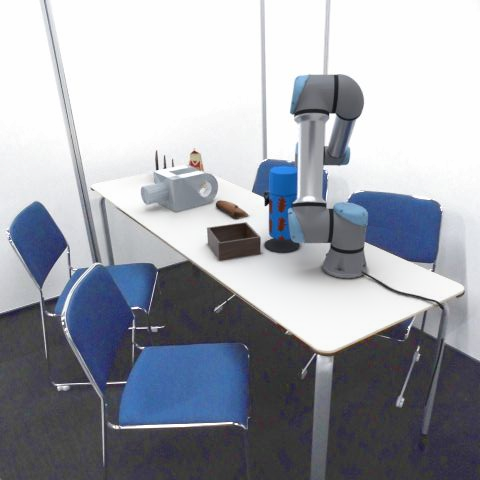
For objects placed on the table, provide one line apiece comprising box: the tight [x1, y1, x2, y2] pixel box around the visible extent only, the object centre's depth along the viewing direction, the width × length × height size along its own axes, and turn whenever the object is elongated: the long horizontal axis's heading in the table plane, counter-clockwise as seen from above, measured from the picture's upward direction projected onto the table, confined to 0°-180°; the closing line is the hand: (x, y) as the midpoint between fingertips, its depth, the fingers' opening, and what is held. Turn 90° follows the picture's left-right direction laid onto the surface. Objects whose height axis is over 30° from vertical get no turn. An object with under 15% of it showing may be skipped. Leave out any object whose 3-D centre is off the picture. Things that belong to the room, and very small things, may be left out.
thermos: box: [268, 165, 297, 240], centre depth 178 cm, size 11×11×25 cm
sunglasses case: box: [215, 199, 249, 220], centre depth 220 cm, size 18×7×7 cm
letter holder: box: [154, 150, 175, 171], centre depth 267 cm, size 10×20×14 cm, turn 7°
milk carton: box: [188, 147, 206, 188], centre depth 252 cm, size 9×9×20 cm
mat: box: [263, 238, 301, 254], centre depth 187 cm, size 14×14×1 cm
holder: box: [206, 221, 262, 261], centre depth 184 cm, size 17×17×7 cm
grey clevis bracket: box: [140, 164, 219, 213], centre depth 228 cm, size 35×19×15 cm, turn 126°
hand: (280, 204), depth 174 cm, fingers closed on thermos, 11 cm apart
